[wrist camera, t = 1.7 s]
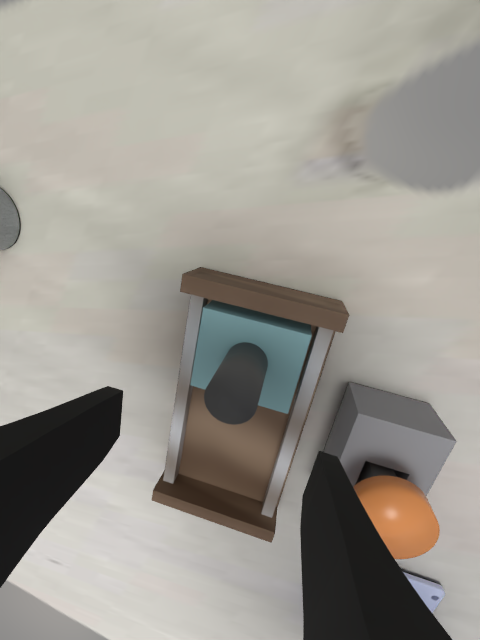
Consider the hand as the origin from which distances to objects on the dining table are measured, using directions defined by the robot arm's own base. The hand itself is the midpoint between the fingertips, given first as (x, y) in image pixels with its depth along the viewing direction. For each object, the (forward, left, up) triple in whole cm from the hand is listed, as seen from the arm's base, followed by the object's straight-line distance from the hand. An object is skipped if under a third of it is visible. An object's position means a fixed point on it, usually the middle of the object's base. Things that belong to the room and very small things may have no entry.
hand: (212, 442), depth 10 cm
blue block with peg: (0, 0, -9) cm, 9 cm away
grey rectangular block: (-5, -9, -10) cm, 14 cm away
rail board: (-5, 0, -10) cm, 11 cm away
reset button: (-5, -9, -8) cm, 13 cm away
